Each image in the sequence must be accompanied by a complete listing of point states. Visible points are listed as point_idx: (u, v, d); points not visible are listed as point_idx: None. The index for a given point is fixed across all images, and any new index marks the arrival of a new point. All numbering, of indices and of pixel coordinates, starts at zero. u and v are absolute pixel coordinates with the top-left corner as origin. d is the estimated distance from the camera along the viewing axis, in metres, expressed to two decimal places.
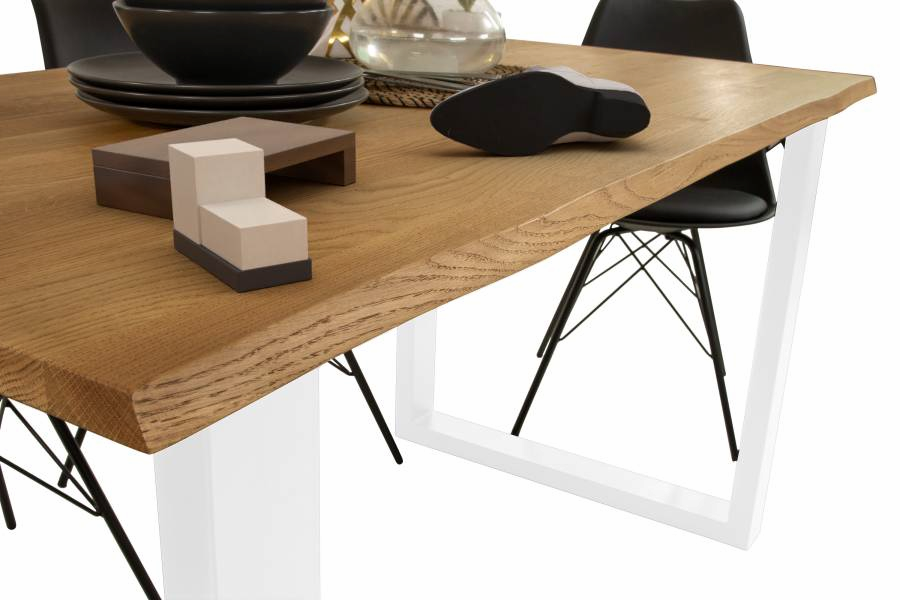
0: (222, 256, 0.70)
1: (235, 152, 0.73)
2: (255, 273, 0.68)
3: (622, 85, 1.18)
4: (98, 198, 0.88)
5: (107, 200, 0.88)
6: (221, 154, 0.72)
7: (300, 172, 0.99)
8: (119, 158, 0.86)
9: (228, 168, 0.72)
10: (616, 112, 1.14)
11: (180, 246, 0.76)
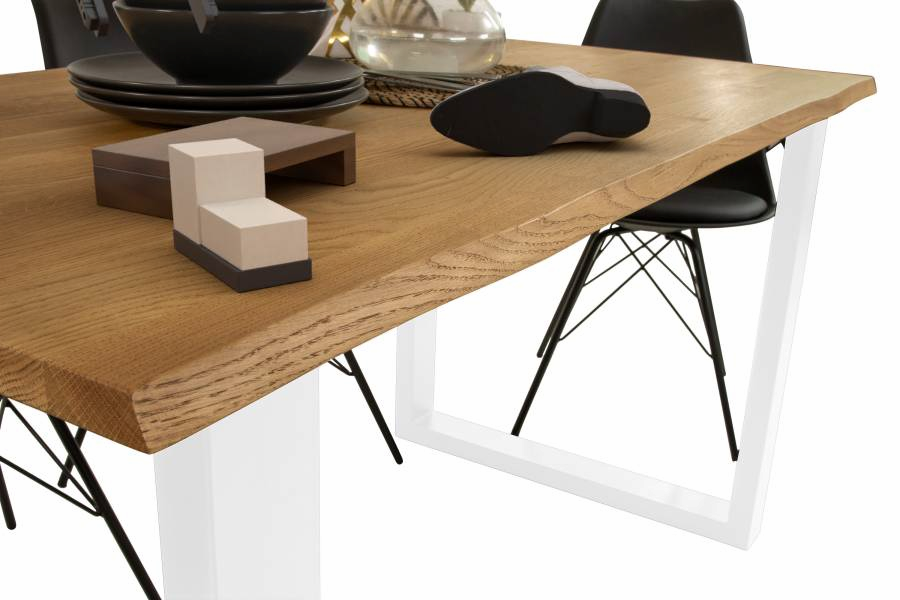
0: (222, 256, 0.70)
1: (235, 152, 0.73)
2: (255, 273, 0.68)
3: (622, 85, 1.18)
4: (98, 198, 0.88)
5: (107, 200, 0.88)
6: (221, 154, 0.72)
7: (300, 172, 0.99)
8: (119, 158, 0.86)
9: (228, 168, 0.72)
10: (616, 112, 1.14)
11: (180, 246, 0.76)
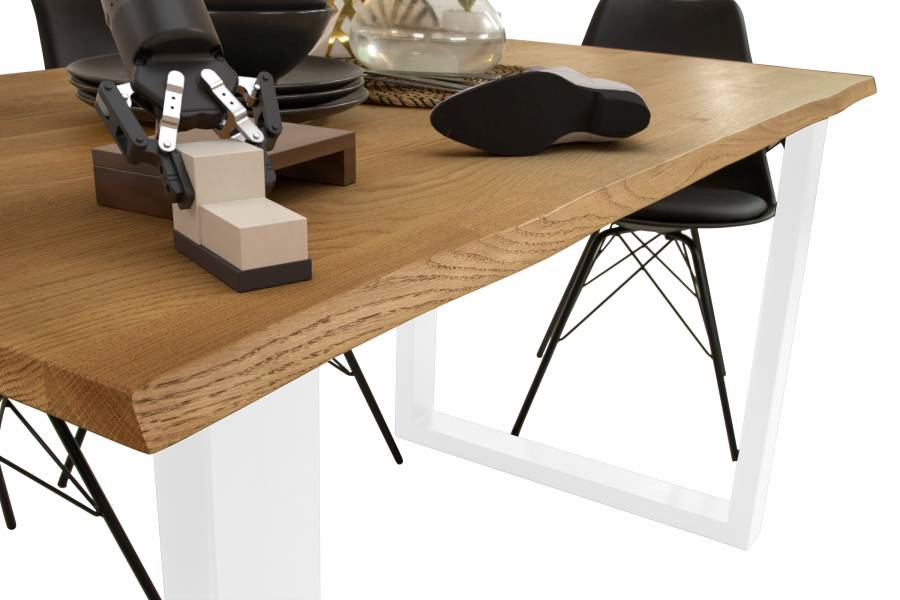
0: (222, 256, 0.70)
1: (235, 152, 0.73)
2: (255, 273, 0.68)
3: (622, 85, 1.18)
4: (98, 198, 0.88)
5: (107, 200, 0.88)
6: (221, 154, 0.72)
7: (300, 172, 0.99)
8: (119, 158, 0.86)
9: (227, 168, 0.72)
10: (616, 112, 1.14)
11: (180, 246, 0.76)
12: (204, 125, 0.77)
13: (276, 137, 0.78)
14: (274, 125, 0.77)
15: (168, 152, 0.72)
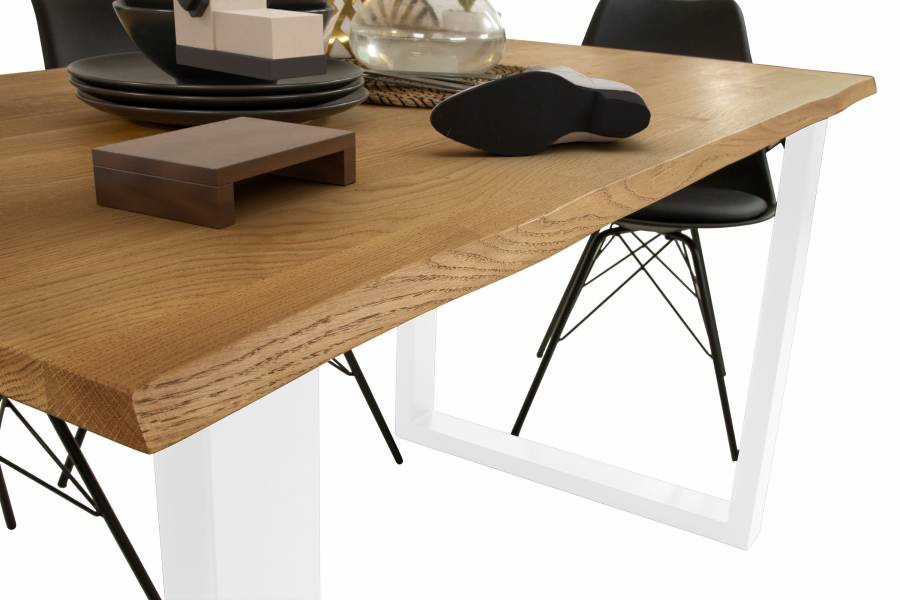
0: (245, 53, 0.76)
1: None
2: (283, 63, 0.75)
3: (622, 85, 1.18)
4: (98, 198, 0.88)
5: (107, 200, 0.88)
6: None
7: (300, 172, 0.99)
8: (119, 158, 0.86)
9: None
10: (616, 112, 1.14)
11: (186, 59, 0.81)
12: None
13: None
14: None
15: None
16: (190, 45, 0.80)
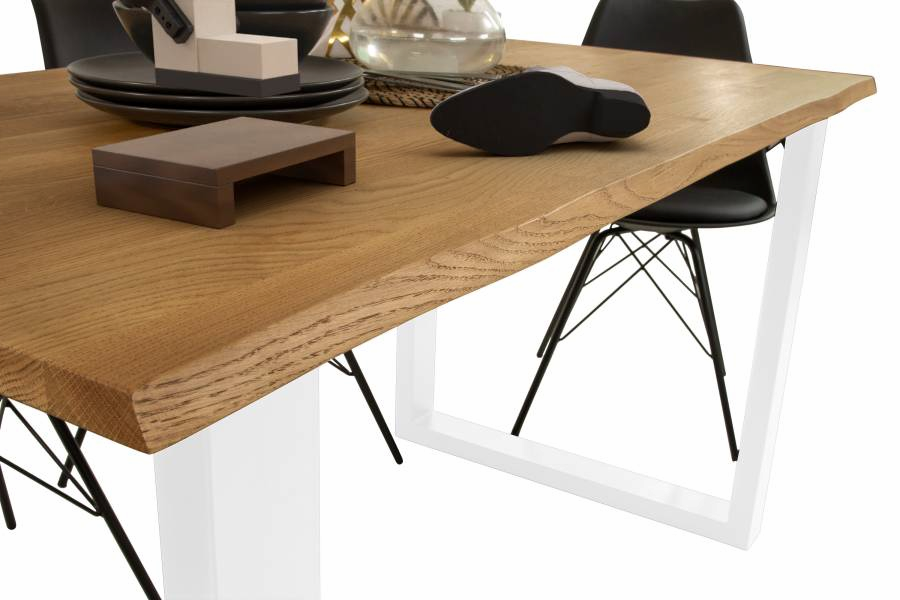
0: (232, 74, 0.86)
1: None
2: (269, 82, 0.86)
3: (622, 85, 1.18)
4: (98, 198, 0.88)
5: (107, 200, 0.88)
6: None
7: (300, 172, 0.99)
8: (119, 158, 0.86)
9: (213, 7, 0.88)
10: (616, 112, 1.14)
11: (167, 80, 0.90)
12: None
13: None
14: None
15: None
16: (171, 68, 0.89)
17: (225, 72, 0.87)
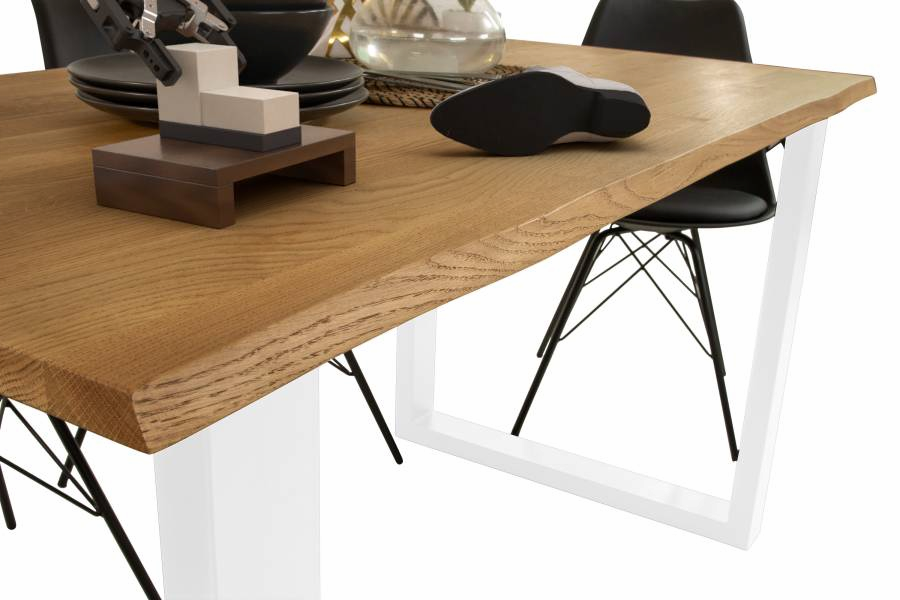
0: (235, 128, 0.88)
1: (220, 48, 0.90)
2: (271, 136, 0.88)
3: (622, 85, 1.18)
4: (98, 198, 0.88)
5: (107, 200, 0.88)
6: (212, 50, 0.89)
7: (300, 172, 0.99)
8: (119, 158, 0.86)
9: (216, 62, 0.90)
10: (616, 112, 1.14)
11: (171, 133, 0.91)
12: (171, 26, 0.92)
13: (231, 28, 0.96)
14: (231, 17, 0.96)
15: (151, 38, 0.87)
16: (175, 121, 0.91)
17: (228, 126, 0.88)
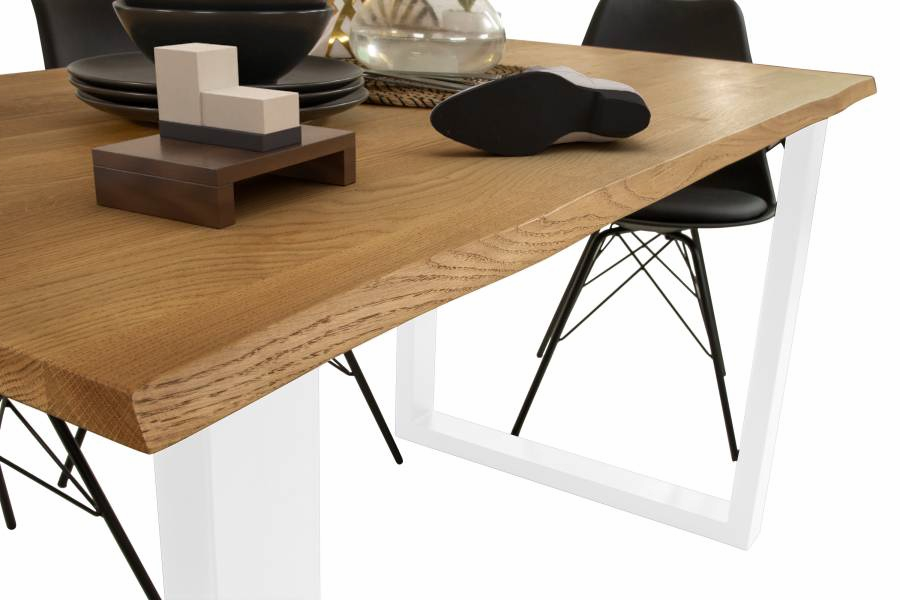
0: (235, 128, 0.88)
1: (220, 48, 0.90)
2: (271, 136, 0.88)
3: (622, 85, 1.18)
4: (98, 198, 0.88)
5: (107, 200, 0.88)
6: (212, 50, 0.89)
7: (300, 172, 0.99)
8: (119, 158, 0.86)
9: (216, 62, 0.90)
10: (616, 112, 1.14)
11: (171, 133, 0.91)
12: None
13: None
14: None
15: None
16: (175, 121, 0.91)
17: (228, 126, 0.88)
